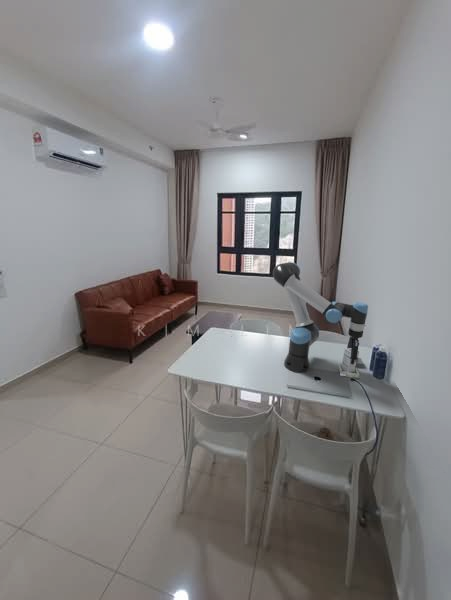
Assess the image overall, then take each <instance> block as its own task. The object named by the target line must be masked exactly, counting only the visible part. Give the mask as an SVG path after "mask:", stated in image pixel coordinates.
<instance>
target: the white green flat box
mask: <svg viewBox="0 0 451 600" xmlns="http://www.w3.org/2000/svg"><path fill="white" fill-rule="evenodd" d="M336 365H337V369H338V373H339V372H340V373H342V374H345V375H346V376H347V377H346V378H351V379H356V380H360V373H359V370H357V369H358V367H356V372H355V373H350V372H344V371H342V369H341V368H342V363H338V364H336Z"/></svg>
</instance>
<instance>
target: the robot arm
mask: <svg viewBox="0 0 451 600" xmlns="http://www.w3.org/2000/svg"><path fill="white" fill-rule="evenodd" d="M300 274H301V269H300V267H299V265H298V264H296V263H295V262H291V261H288V262H284V263H279V264H277V265H275V267H274V268H273V270H272V277H273V279H274V281H275V282H276V283H277V284H278V285H279V286H281V287H283V288H284V289H285V290H286V292H287V295H288V299H289V303H290V305H291V309H292V312H293V315H294V319H295V321H296V324H295V328H293V329H292V330H291V332H290V335H289V346H288V353H287V355H286V357H285V359H284V363H283V365H284V367H285V368H286V369H287V370H289V371H291V372H296V373H306V372H308V371H309V370H310V366H311V365H310V360H309V353H310V352H309V351H310V347H311V346H312V345H313V344H314V343H315V342H317V340H318V339H319V336H320V330H319V328H318V326H316V325H315V322H314V320H312V319H311V318H310V315H309V314H310V313H309V311H308V308H307V305H306V303H307V304H308V305H310V306H311V307H313V308H315V310H317V311H318V312H320V313H321V314H322V315H324V316H325V318H326V321H328V323H332V324H336V323H339V322H340V321H341V320H342V319H343V318H344V317H345V318H348V319H349V318H350V322H349V325H348V326H349V328H348V332H347V335H348V336H349V339H348V344H347V347H346V348H352V349H351V358H350V357H349V358H350V361H349V366H348V368H349V369H354V364H355V360H357V353H358V351H359V346H360V342H359V341H360V340H359V338H363V336H364V329H365V327H366V326H367V325H366V320H367V315H368V310H369V306H368V304H367V303H366V302H362V301H361V302H358V301H355V302H354V303H353V304H348V303H343V302H339V301H332V302H331V301H329V300H328V299H326V298H324V297H323V296H322V295H321V294H319V293H318V292H316V291H315V290H314V289H312V288H311V287H310V286H308V285H307V284H305V283H304V282H303V281H301V278H300ZM307 370H308V371H307Z"/></svg>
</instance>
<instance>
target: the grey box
mask: <svg viewBox="0 0 451 600" xmlns="http://www.w3.org/2000/svg"><path fill="white" fill-rule="evenodd" d="M358 369H364V361H363V360H362V358H361V357H358V361H357V370H358ZM358 371H359V370H358Z"/></svg>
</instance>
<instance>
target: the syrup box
mask: <svg viewBox="0 0 451 600" xmlns="http://www.w3.org/2000/svg"><path fill="white" fill-rule="evenodd" d="M351 349H352V348H347V347H346V348H344V351H343V357H342V363H341V364H342V368H341V369H342V371H344V372H350V373H355V372H356V367H357V361H358V358H359V355H360V351H359V350H358V353H357V360H355V364H354V369H349V368H348V366H349V361H350V358H351ZM349 357H350V358H349ZM357 368H358V367H357Z"/></svg>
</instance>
